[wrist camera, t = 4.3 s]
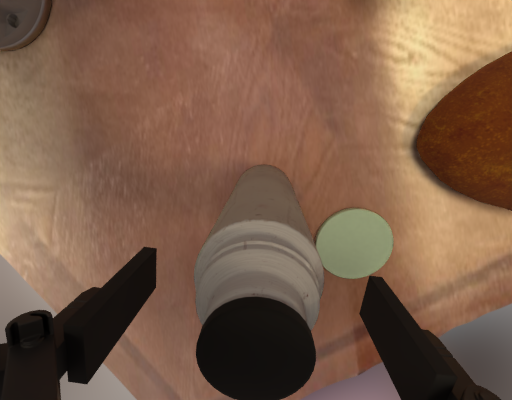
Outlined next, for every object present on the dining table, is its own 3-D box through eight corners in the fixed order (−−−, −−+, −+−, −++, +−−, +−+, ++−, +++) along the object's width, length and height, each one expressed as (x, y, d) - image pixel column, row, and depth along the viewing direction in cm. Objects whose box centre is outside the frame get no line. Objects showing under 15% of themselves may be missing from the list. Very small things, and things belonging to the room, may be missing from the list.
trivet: (322, 203, 37) (323, 204, 37) (399, 212, 37) (402, 214, 37) (309, 271, 40) (310, 273, 40) (380, 280, 40) (382, 283, 40)
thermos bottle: (241, 222, 39) (181, 442, 12) (231, 169, 37) (129, 289, 10) (295, 214, 38) (362, 428, 11) (287, 160, 36) (347, 260, 9)
